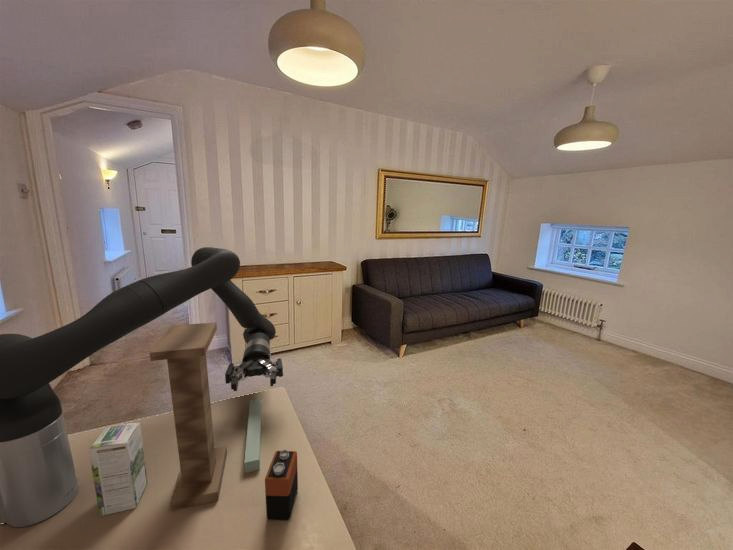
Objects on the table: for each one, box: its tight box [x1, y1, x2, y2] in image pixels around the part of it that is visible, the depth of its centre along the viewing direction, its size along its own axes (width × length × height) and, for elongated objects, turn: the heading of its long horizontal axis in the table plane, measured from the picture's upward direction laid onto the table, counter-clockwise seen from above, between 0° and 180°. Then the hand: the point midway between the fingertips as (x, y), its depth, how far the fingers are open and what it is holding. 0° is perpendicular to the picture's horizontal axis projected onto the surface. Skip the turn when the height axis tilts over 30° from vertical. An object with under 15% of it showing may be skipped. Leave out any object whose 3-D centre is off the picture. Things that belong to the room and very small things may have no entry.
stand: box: [149, 322, 228, 512], centre depth 59 cm, size 8×12×32 cm, turn 17°
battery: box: [264, 449, 299, 521], centre depth 57 cm, size 4×7×10 cm, turn 179°
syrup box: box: [88, 422, 148, 517], centre depth 56 cm, size 6×6×14 cm
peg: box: [243, 398, 263, 474], centre depth 75 cm, size 3×22×3 cm, turn 18°
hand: (253, 385), depth 74 cm, fingers open, 8 cm apart
